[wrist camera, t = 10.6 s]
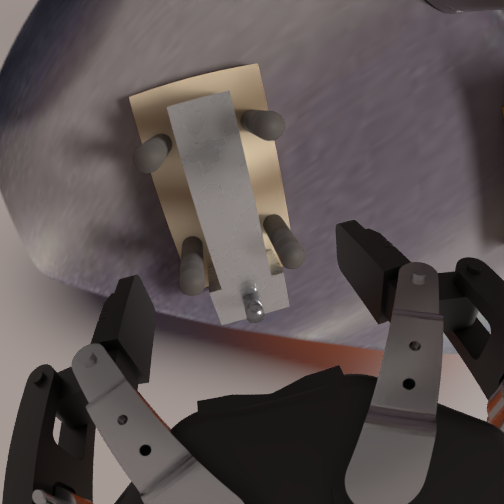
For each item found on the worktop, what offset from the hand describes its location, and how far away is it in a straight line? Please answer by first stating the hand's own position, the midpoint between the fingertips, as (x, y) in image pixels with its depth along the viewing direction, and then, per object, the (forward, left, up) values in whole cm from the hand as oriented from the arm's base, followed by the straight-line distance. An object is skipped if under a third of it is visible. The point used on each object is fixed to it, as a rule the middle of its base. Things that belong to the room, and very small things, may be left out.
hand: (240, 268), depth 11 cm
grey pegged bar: (+2, 0, -13) cm, 13 cm away
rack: (0, 0, -14) cm, 14 cm away
